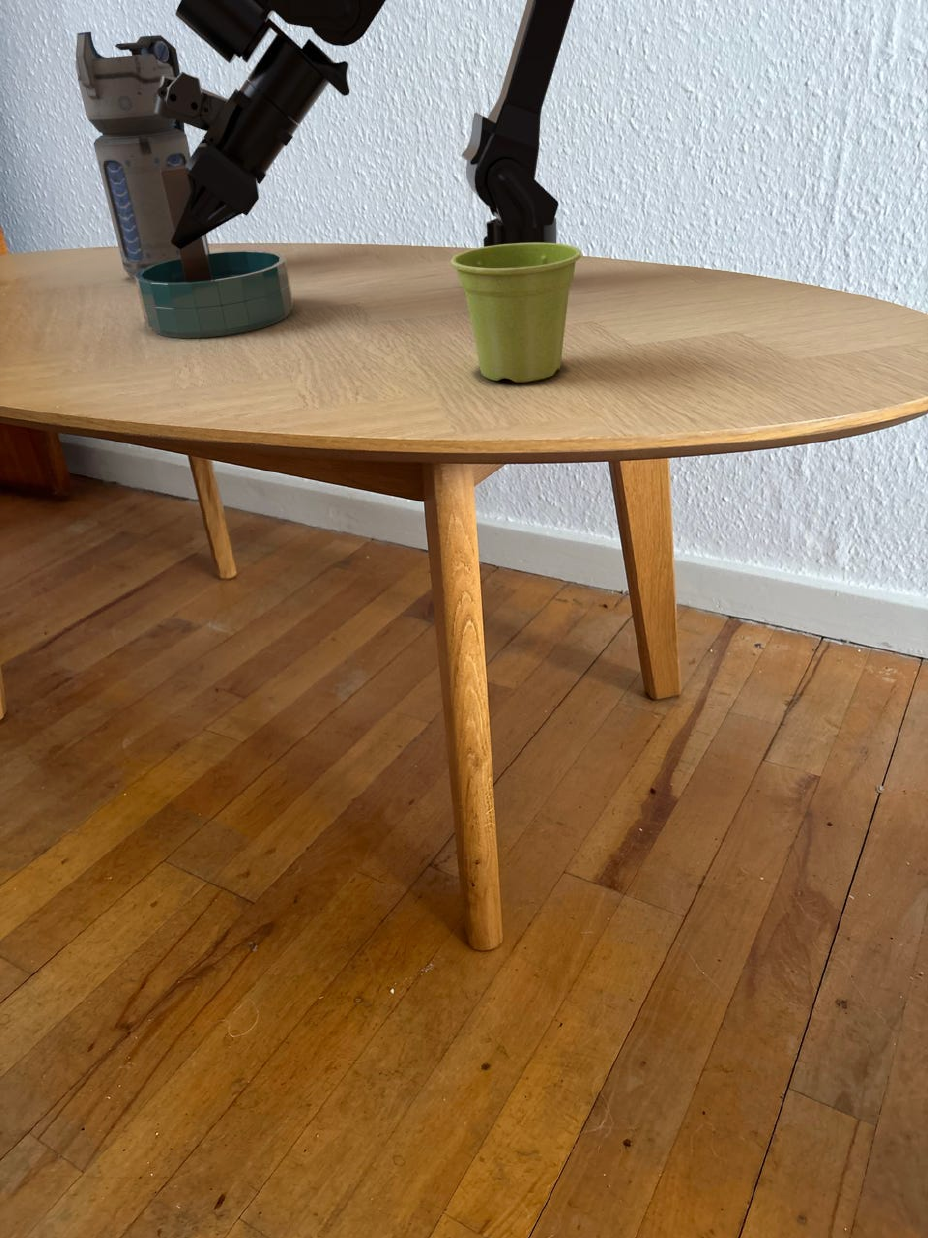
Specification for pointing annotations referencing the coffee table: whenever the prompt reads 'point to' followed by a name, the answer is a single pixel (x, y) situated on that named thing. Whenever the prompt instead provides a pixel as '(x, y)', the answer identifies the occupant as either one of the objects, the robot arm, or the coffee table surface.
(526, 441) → the coffee table surface
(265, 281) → the bowl
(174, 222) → the brown post on base
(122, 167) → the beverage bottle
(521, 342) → the plant pot
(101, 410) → the coffee table surface
